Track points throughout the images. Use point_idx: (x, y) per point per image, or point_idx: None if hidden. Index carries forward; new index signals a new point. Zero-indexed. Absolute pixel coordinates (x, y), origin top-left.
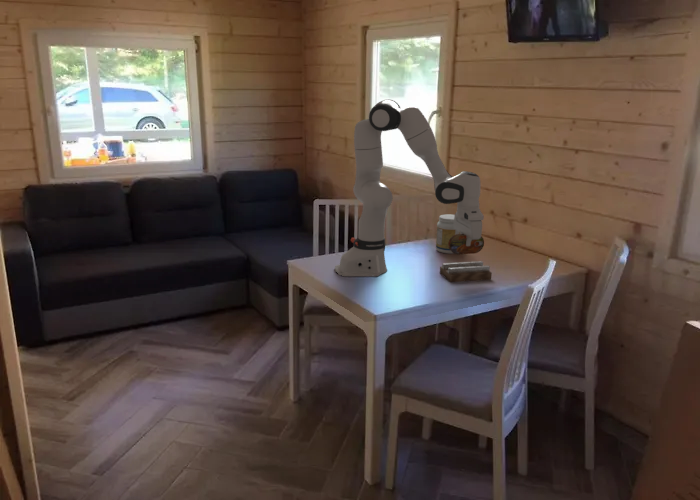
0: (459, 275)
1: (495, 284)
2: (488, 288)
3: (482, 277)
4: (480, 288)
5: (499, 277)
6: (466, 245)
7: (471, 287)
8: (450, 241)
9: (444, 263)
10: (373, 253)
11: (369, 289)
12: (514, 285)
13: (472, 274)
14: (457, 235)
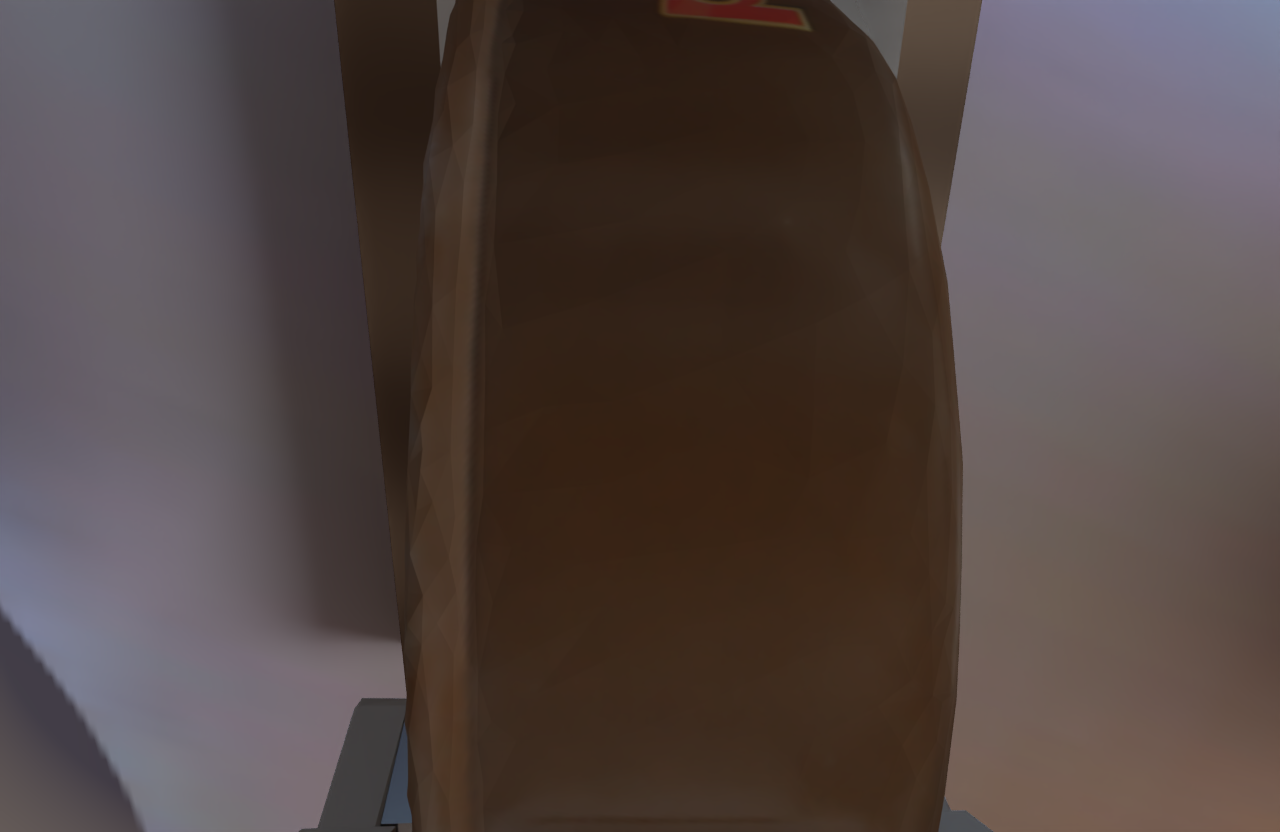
0: (353, 151)
1: (205, 619)
2: (13, 463)
3: None
4: (6, 347)
5: None
6: (356, 708)
7: (53, 221)
8: (578, 17)
9: (893, 14)
10: None
11: None
12: (157, 805)
13: (381, 417)
14: (522, 731)
